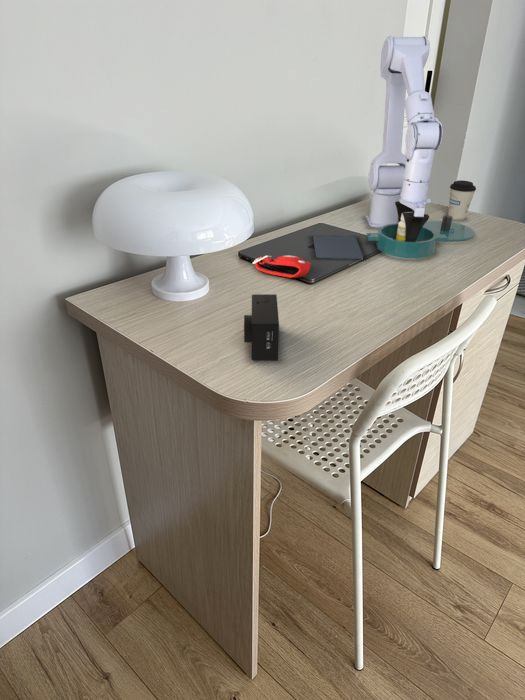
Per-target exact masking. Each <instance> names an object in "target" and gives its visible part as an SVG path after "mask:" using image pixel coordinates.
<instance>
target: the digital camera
mask: <svg viewBox="0 0 525 700" xmlns="http://www.w3.org/2000/svg"><path fill="white" fill-rule="evenodd" d="M277 297H278V296H277V294H276V293H275V294H274V293H273V294H271V293H269V294H261V293H260V294H258V293H257V294H256V293H255V294H253V293H252V295H251V314H244V316H243V339H244V340H243V341H244V342H243V343H251V361H254V362H255V361H256V362H257V361H258V362H259V361H279V343H280V342H279V341H280V340H279V339H280V336H279V335H280V320H279V308H278V298H277Z"/></svg>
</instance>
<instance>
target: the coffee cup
mask: <svg viewBox="0 0 525 700" xmlns="http://www.w3.org/2000/svg"><path fill="white" fill-rule="evenodd" d="M449 188H450V191H449V199H448V200H449V202H448V213H447V215H449V216H452V217H453V218H452V220H453V219H455V220H464V219H466V217H467V215H468V212H469V209H470V206H471V203H472V201H473V198H474V194H475V192H476V191H477V188H476V186H475V185H474V183H473V182H472V181H469V180H461V179H460V180H455V181H453V183H451V184H450V186H449Z"/></svg>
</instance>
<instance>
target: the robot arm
mask: <svg viewBox="0 0 525 700" xmlns="http://www.w3.org/2000/svg"><path fill="white" fill-rule="evenodd" d="M430 46H431V45H430V40H429V38H428V36H426V35H423V36H393V35H388V36H387V37H386V38H385V40H384V41H383V44H382V48H381V52H380V66H379V67H380V68H379V69H380V78H382V79H383V80H385V101H384V102H385V103H384V120H383V134H382V135H383V136H382V148H381V149H382V151H381V152H380V153H379V154H377V155H376V156H374V157H373V158H372V159H371V160H370V161H371V162H370V165H369V166H370V167H369V171H368V175H367V177H368V180H367V183H368V187H369V188H370V190H371V191H372V194H371V197H370V206H369V214H368V215H365V218H366V220H367V223H368V224H369V226H370V227H371V228H380V227H382V226H385V225H388V224H396V223H398V224H399V222H400V221H401V215H402V213H403V216H404V220H405V241H407V242H417V241H416V240H417V238H418V235H419V233H420V231H421V229H422V227H423V226H424V224H425V223H426V222H427V221H429V219H430V215H429V214H428V213H425V211H426V205H427V204H431V203H432V199H431V198H430V197H427V196H428V191H429V186H430V180H431V175H432V174H431V173H432V168H433V163H434V157H435V153H436V152H435V151H438V150H439V148H440V146H441V144H442V141H443V133H444V131H443V124H442V122H441V121H440V120H439V118H438V117H435V116H436V115H435V111H434V106H433V99H432V95H431V93H430V92H427V91H426V89H425V71H424V69H425V67H426V64H427V62H428V59H429V55H430V51H431V50H430V48H431V47H430ZM406 96H407V98H406ZM405 116H406V124H407V130H406V133H405V138H404V139H405V140H404V141H405V151H404V153H403V152H402V147H403V135H404V124H405V123H404V122H405ZM384 164H395V165H384ZM404 212H412V213H404Z"/></svg>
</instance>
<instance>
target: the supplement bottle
mask: <svg viewBox="0 0 525 700" xmlns="http://www.w3.org/2000/svg"><path fill="white" fill-rule="evenodd" d="M404 213H412V212H404ZM396 240H400V241H405V220H404V216H403V213H402V215H401V221H400V222H399V224H398V231H397V237H396Z"/></svg>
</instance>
